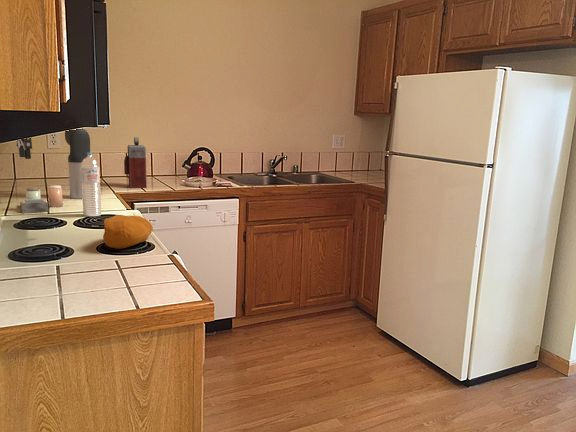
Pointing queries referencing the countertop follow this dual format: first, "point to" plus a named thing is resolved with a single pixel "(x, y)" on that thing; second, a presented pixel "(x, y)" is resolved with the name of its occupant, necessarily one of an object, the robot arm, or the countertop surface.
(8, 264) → the countertop surface
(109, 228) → the bread
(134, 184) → the red grey square bottle
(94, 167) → the water bottle
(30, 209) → the lane
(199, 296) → the countertop surface
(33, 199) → the plate
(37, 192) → the sage jar
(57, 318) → the countertop surface
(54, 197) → the terracotta jar
